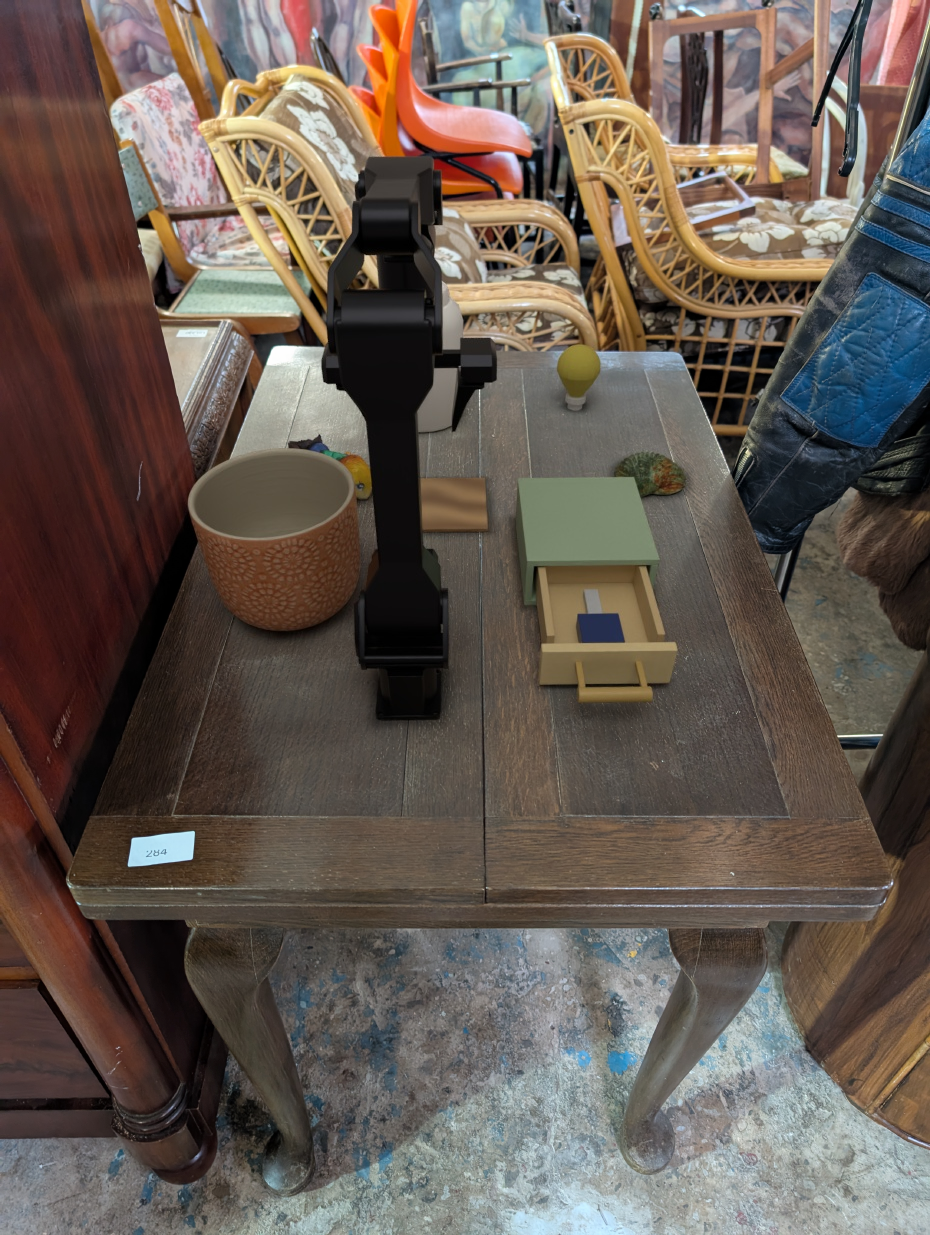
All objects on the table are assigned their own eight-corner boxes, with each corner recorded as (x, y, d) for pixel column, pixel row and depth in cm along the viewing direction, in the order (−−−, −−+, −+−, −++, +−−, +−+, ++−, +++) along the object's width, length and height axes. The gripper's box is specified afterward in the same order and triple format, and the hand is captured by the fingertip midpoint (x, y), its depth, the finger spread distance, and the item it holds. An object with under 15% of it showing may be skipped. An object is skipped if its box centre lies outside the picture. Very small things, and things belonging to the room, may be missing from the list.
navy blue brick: (622, 655, 83) (625, 641, 81) (580, 655, 83) (582, 642, 81) (609, 595, 90) (611, 582, 88) (570, 596, 90) (572, 582, 88)
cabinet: (650, 604, 92) (659, 559, 87) (524, 605, 92) (527, 560, 87) (626, 519, 104) (634, 476, 99) (515, 521, 104) (517, 477, 99)
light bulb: (549, 413, 125) (554, 352, 118) (558, 394, 129) (563, 334, 123) (591, 419, 123) (599, 358, 117) (599, 400, 128) (606, 340, 121)
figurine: (380, 496, 108) (376, 455, 104) (333, 517, 104) (327, 476, 100) (333, 463, 114) (328, 423, 110) (287, 481, 111) (280, 442, 107)
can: (388, 395, 130) (379, 268, 116) (465, 396, 129) (464, 269, 116) (379, 433, 120) (368, 301, 107) (461, 435, 120) (461, 302, 106)
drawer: (680, 720, 78) (689, 687, 74) (543, 722, 78) (546, 689, 74) (642, 585, 93) (649, 552, 89) (528, 586, 93) (530, 554, 89)
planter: (397, 601, 92) (388, 490, 82) (274, 676, 83) (247, 563, 73) (310, 538, 101) (292, 431, 91) (191, 599, 92) (156, 489, 82)
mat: (487, 531, 102) (487, 528, 102) (394, 532, 102) (394, 529, 102) (484, 480, 111) (484, 477, 111) (398, 481, 111) (398, 478, 110)
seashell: (698, 443, 110) (676, 479, 103) (694, 469, 112) (673, 505, 106) (628, 431, 114) (603, 465, 107) (626, 457, 116) (602, 491, 110)
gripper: (494, 266, 88) (491, 397, 98) (325, 267, 87) (340, 398, 98) (499, 305, 79) (495, 443, 90) (312, 306, 79) (330, 445, 90)
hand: (413, 430), depth 92 cm, fingers open, 9 cm apart
